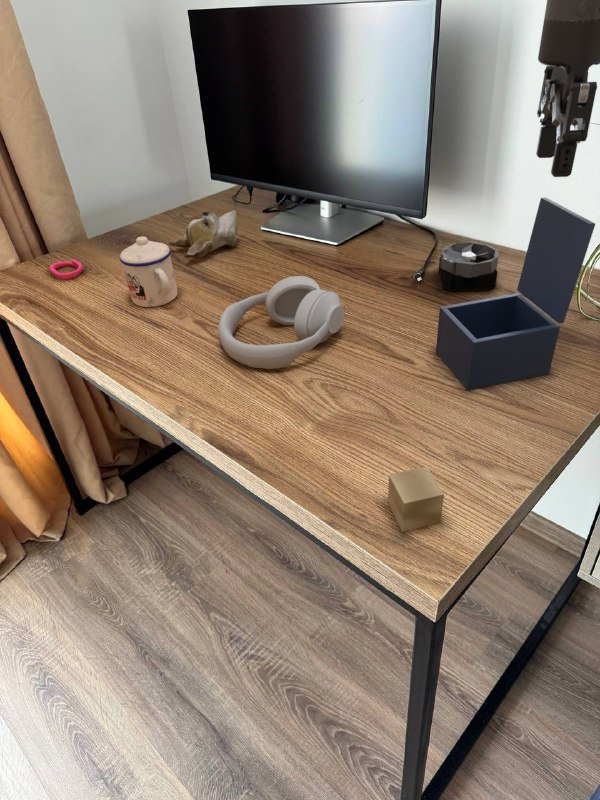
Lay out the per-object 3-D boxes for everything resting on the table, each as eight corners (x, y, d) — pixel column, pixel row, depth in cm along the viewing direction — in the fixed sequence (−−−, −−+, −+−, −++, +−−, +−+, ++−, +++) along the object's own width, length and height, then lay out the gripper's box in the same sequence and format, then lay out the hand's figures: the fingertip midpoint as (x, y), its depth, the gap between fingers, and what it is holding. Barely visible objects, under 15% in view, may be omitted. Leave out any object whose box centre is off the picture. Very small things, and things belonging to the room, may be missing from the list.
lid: (589, 224, 70) (595, 223, 71) (540, 197, 79) (546, 197, 79) (558, 323, 78) (564, 323, 78) (516, 290, 87) (521, 289, 87)
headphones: (303, 296, 106) (207, 346, 99) (295, 257, 101) (193, 307, 94) (367, 337, 93) (261, 397, 87) (361, 295, 88) (249, 355, 82)
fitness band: (89, 273, 122) (87, 266, 121) (62, 282, 119) (60, 275, 118) (72, 262, 127) (70, 256, 126) (46, 271, 124) (44, 264, 123)
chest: (467, 390, 81) (473, 342, 77) (435, 352, 90) (439, 306, 85) (549, 374, 83) (560, 326, 79) (510, 337, 92) (518, 292, 87)
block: (424, 494, 66) (426, 466, 64) (440, 522, 63) (444, 494, 60) (387, 502, 66) (388, 474, 63) (402, 532, 62) (404, 503, 60)
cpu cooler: (493, 239, 109) (505, 262, 100) (489, 268, 112) (500, 292, 104) (436, 241, 109) (443, 264, 101) (434, 270, 113) (441, 294, 105)
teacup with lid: (123, 296, 112) (107, 237, 105) (166, 282, 116) (154, 224, 109) (149, 319, 104) (134, 257, 97) (194, 303, 108) (183, 242, 101)
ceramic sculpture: (245, 208, 121) (178, 230, 116) (252, 248, 127) (188, 270, 121) (223, 196, 129) (160, 216, 124) (231, 234, 134) (170, 254, 129)
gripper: (639, 16, 58) (599, 182, 68) (598, 6, 70) (569, 150, 79) (560, 21, 59) (532, 184, 69) (532, 11, 71) (511, 152, 80)
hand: (552, 166), depth 74 cm, fingers open, 8 cm apart
